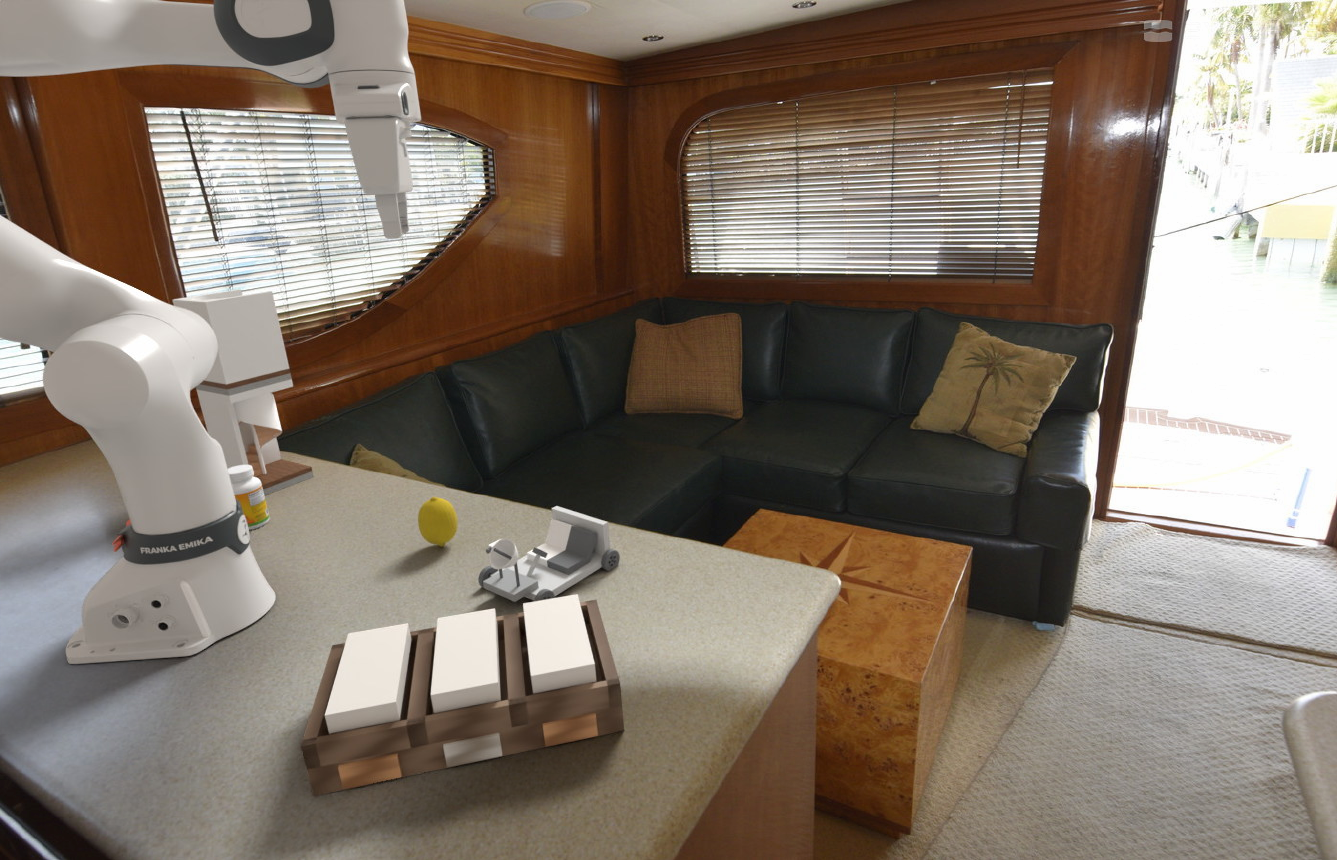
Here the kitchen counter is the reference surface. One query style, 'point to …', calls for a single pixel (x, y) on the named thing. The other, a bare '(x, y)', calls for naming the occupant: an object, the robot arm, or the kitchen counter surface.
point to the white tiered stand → (246, 384)
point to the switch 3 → (558, 644)
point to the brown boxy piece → (463, 715)
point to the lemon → (437, 521)
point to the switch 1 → (370, 679)
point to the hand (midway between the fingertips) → (398, 235)
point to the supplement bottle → (249, 495)
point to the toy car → (550, 558)
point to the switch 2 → (466, 661)
